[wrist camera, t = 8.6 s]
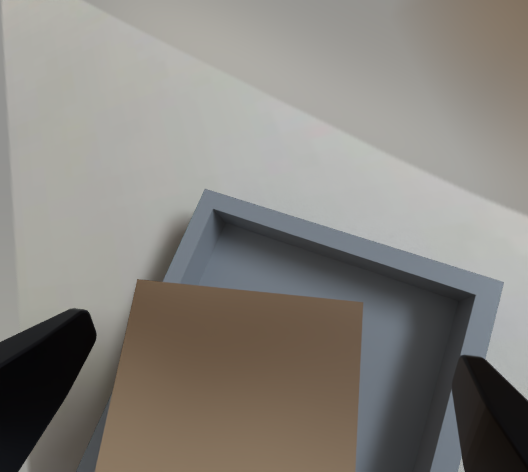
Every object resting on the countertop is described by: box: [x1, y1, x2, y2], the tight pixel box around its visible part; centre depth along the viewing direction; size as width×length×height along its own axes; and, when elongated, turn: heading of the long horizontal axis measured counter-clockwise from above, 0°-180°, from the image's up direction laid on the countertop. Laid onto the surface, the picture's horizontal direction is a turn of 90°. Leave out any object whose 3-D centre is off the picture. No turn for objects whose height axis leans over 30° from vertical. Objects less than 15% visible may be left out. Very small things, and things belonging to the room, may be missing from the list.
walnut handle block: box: [95, 279, 363, 472], centre depth 11 cm, size 5×5×10 cm
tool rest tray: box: [76, 189, 504, 472], centre depth 15 cm, size 13×13×3 cm
